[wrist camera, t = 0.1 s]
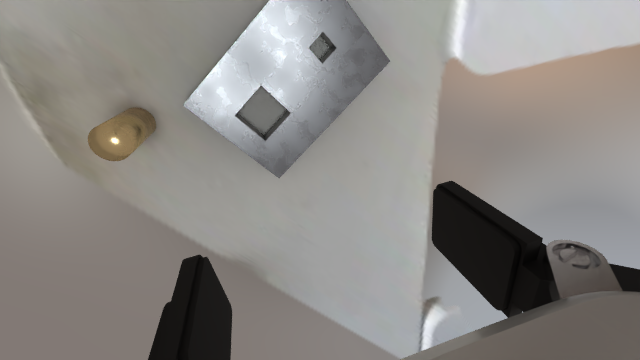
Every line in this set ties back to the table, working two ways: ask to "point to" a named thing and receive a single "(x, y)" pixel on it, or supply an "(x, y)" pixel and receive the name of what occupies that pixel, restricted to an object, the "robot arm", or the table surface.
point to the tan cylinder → (121, 134)
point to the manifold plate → (289, 77)
